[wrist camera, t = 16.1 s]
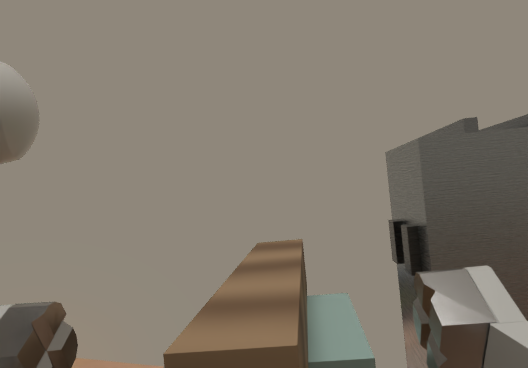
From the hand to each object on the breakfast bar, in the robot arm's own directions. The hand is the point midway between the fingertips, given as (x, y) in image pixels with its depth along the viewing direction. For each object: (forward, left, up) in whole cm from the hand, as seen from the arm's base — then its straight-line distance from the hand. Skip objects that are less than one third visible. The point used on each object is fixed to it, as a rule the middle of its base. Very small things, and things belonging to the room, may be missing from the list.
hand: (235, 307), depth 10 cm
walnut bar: (-7, +7, -4) cm, 10 cm away
